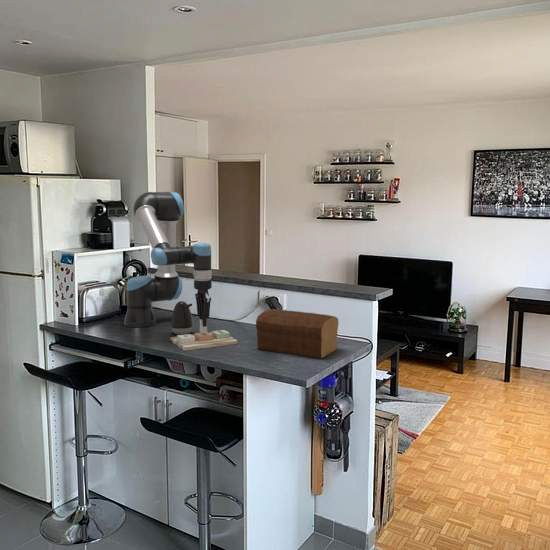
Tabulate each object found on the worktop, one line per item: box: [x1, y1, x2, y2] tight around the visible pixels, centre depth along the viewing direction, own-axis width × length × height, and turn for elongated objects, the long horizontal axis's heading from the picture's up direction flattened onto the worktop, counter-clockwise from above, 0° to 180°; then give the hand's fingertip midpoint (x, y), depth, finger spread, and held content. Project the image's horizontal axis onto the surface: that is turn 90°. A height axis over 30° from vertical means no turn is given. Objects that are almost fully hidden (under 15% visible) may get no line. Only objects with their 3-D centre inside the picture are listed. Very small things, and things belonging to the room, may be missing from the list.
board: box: [169, 332, 238, 351], centre depth 251 cm, size 18×24×2 cm
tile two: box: [194, 331, 213, 342], centre depth 251 cm, size 6×6×3 cm
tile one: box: [176, 333, 195, 344], centre depth 247 cm, size 6×6×3 cm
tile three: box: [211, 329, 231, 339], centre depth 254 cm, size 6×6×3 cm
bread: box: [255, 308, 339, 359], centre depth 239 cm, size 18×30×16 cm, turn 61°
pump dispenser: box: [170, 300, 194, 335], centre depth 265 cm, size 10×10×15 cm
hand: (203, 333), depth 250 cm, fingers closed
